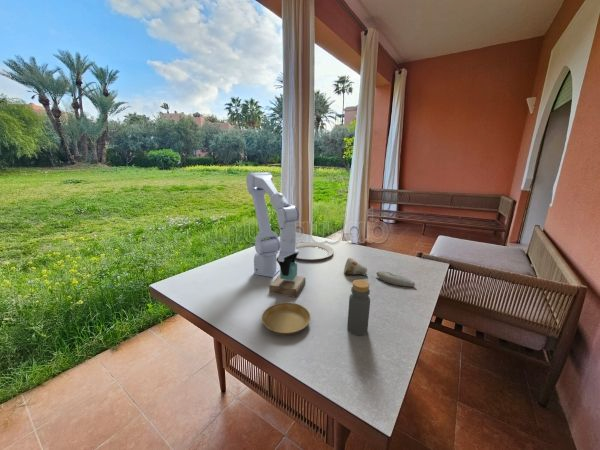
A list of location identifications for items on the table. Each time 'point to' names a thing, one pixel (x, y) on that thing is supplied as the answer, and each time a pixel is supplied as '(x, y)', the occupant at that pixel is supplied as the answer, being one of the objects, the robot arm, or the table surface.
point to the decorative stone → (394, 278)
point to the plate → (310, 244)
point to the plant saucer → (286, 318)
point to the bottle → (359, 308)
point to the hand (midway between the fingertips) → (287, 272)
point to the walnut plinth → (287, 286)
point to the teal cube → (290, 272)
